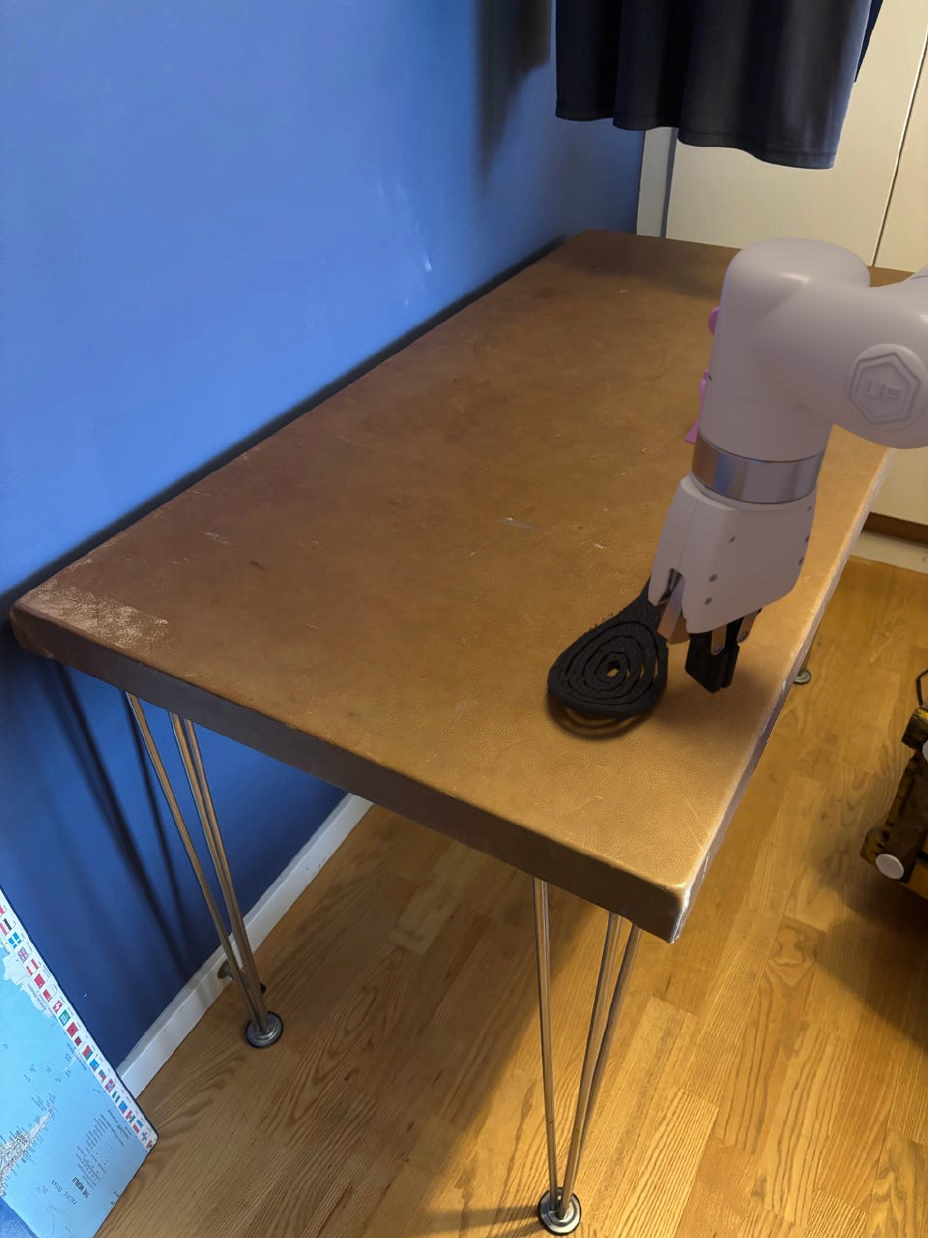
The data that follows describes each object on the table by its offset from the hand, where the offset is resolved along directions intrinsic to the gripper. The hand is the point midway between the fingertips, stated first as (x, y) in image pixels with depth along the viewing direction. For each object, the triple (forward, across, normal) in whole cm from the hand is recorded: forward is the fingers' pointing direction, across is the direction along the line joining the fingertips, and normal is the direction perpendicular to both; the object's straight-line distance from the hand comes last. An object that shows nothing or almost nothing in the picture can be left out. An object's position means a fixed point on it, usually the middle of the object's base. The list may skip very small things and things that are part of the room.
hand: (706, 678), depth 67 cm
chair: (+2, -31, -29) cm, 42 cm away
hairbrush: (+2, 0, -8) cm, 8 cm away
